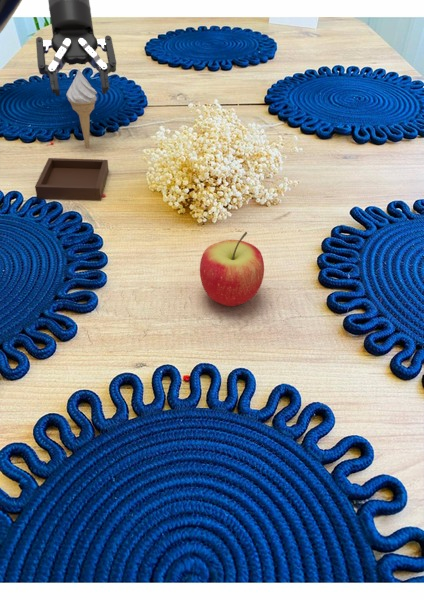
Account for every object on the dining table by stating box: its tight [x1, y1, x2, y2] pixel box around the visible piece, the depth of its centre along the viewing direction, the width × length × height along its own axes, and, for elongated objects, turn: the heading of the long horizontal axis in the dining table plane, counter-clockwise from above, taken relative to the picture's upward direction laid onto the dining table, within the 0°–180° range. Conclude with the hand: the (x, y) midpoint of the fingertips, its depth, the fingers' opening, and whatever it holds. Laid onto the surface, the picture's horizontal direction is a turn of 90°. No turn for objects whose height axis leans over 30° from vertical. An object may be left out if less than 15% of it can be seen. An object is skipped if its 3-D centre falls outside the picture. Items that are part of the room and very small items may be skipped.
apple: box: [199, 231, 265, 307], centre depth 68 cm, size 8×8×10 cm
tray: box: [34, 157, 110, 201], centre depth 93 cm, size 11×11×2 cm
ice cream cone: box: [65, 68, 98, 149], centre depth 100 cm, size 6×6×15 cm
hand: (81, 93), depth 99 cm, fingers open, 8 cm apart
